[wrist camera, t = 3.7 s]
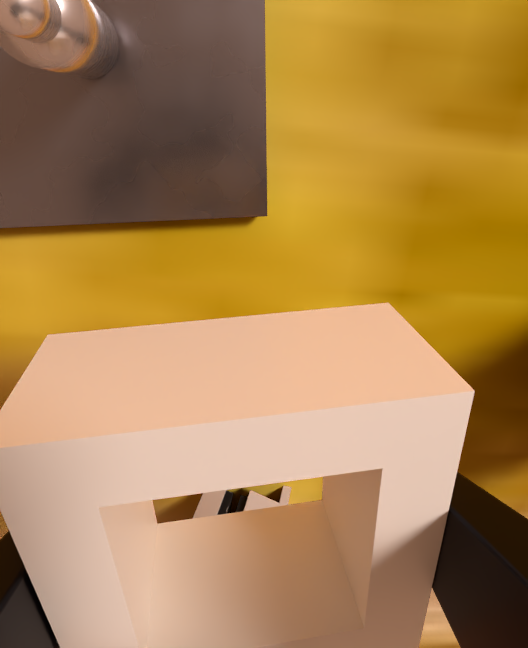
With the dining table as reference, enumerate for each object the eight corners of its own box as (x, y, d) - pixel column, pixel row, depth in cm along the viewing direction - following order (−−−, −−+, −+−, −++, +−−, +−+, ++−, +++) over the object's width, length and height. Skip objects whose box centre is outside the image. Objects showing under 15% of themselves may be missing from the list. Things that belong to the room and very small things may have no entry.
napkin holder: (248, 647, 33) (205, 838, 24) (189, 626, 34) (124, 806, 25) (292, 482, 26) (254, 664, 17) (216, 459, 27) (140, 625, 18)
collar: (388, 302, 9) (475, 390, 6) (365, 526, 12) (417, 652, 9) (48, 334, 8) (-26, 451, 5) (114, 564, 11) (89, 714, 8)
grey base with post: (258, -189, 13) (316, -482, 7) (263, 210, 19) (300, 269, 12) (-179, -214, 12) (-647, -610, 5) (-38, 224, 17) (-185, 297, 11)
